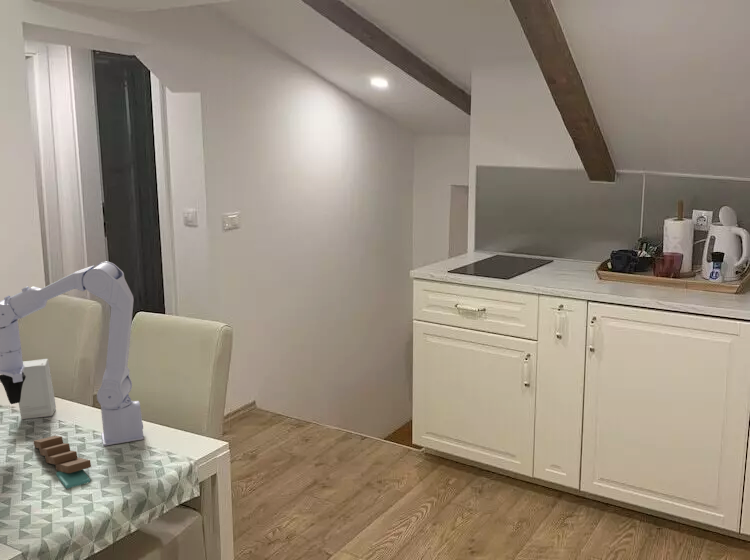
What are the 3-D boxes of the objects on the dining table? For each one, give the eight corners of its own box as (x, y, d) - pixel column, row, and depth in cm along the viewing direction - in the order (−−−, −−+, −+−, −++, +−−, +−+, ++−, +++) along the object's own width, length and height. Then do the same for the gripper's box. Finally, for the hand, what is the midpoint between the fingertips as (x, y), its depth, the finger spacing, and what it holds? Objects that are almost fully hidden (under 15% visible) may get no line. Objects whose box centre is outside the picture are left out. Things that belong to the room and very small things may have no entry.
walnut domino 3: (45, 455, 179) (53, 457, 172) (67, 450, 182) (76, 451, 176) (46, 462, 179) (54, 464, 172) (68, 456, 182) (77, 458, 175)
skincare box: (56, 409, 212) (50, 357, 209) (52, 417, 206) (46, 364, 203) (23, 412, 210) (17, 360, 207) (18, 420, 204) (12, 367, 201)
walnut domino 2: (39, 448, 183) (46, 449, 177) (60, 442, 186) (69, 443, 179) (40, 455, 183) (48, 456, 176) (62, 449, 186) (70, 450, 179)
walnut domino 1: (33, 440, 187) (40, 442, 181) (54, 435, 190) (62, 436, 184) (34, 447, 187) (41, 448, 181) (55, 441, 190) (63, 443, 184)
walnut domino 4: (55, 463, 174) (67, 466, 168) (77, 457, 178) (90, 460, 172) (56, 470, 174) (68, 473, 168) (78, 464, 178) (91, 467, 172)
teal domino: (56, 472, 172) (66, 485, 166) (79, 466, 175) (89, 478, 169) (56, 478, 172) (66, 492, 166) (79, 472, 175) (90, 485, 169)
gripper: (-16, 346, 189) (-9, 398, 192) (-4, 360, 177) (3, 415, 180) (14, 340, 193) (21, 391, 196) (29, 354, 182) (35, 408, 184)
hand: (14, 402), depth 188 cm, fingers closed
